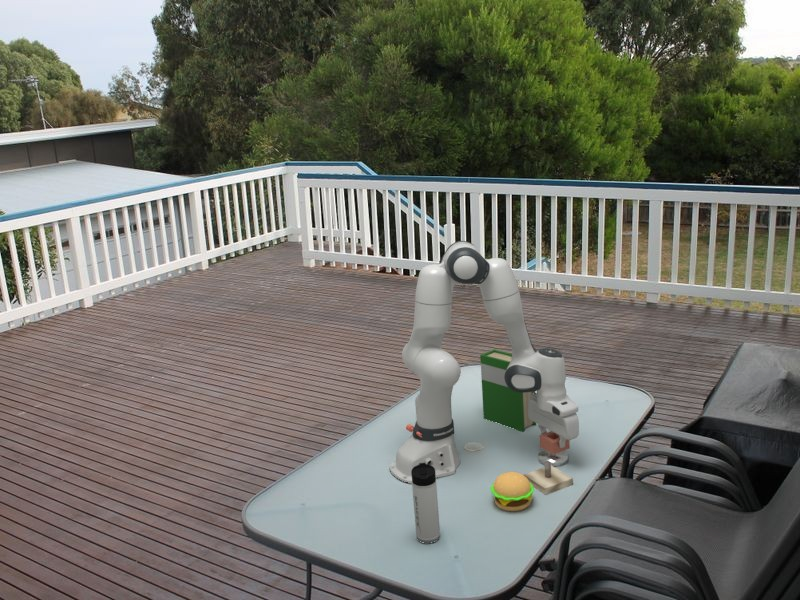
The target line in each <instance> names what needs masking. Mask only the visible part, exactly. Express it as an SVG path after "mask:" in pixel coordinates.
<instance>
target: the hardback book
mask: <svg viewBox="0 0 800 600" xmlns="http://www.w3.org/2000/svg"><path fill="white" fill-rule="evenodd" d="M479 357H480V358H479V359H480V375H481V392H482V393H481V394H482V396H481V397H482V411H483V413H482V414H483V420H486V419H487V421H489V420H490V421H489V422H492V421H493V422H492V423H495V422H497V423H496V424H498V423H500V424H502V425H501V426H503V425H505V426H504V427H506V426H508V427H507V428H509V427H511V428H510V429H512V428H514V429H513V430H515V429H516V431H519V432H521V431H522V433H524V432H525V428H528V427H530V426H534V425H535V426H537V423H535V422H533V421H531V420H530V419H529V417H528V405H529V401H530V395H531V394H532V393H533V392H535V393H536V391H533V392H525V393H518V392H515V391H513V390H511V389H510V388H509V387H508V386H507V384H506V382H505V379H504V376H505V372H506V370H507V368H508V366H509V364H510V362H511V359H512V352H511V353H510V352H507V351H503V350H498V349H492V350H490V351H487V352H484V353H482V354H480V356H479ZM500 424H499V425H500ZM531 424H532V425H531Z"/></svg>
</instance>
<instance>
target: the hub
mask: <svg viewBox="0 0 800 600" xmlns="http://www.w3.org/2000/svg"><path fill="white" fill-rule="evenodd" d="M537 457H538V458H537V459H538V462H539V464H541V465H542V466H545V463H544V462H545V461H550V462H551V465H552V466H553V467H555V468H559V467H563V466H564V465H566V464H568V462H569V455H568V453H567V452H566V451H565V450H564V451H562V452H559V453H556V454H554V455H553V454H551V453H550V452H548V451H546V450H544V449H543V450H541V451H540V452H538V455H537Z"/></svg>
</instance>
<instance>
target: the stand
mask: <svg viewBox="0 0 800 600" xmlns="http://www.w3.org/2000/svg"><path fill="white" fill-rule="evenodd" d="M544 463H545V465H544V467H541V468H538V469H535V470H532V471H530V472H527V473H525V474H523V475H524V476H525V477H526V478H527V479H528V480H529V482H531V484H532V486H533V487H534V489H536V490H538V492H541V493H542V494H544V495H546V496H547V495H549V494H552V493H554V492H556V491H559V490H562V489H565V488H567V487H570V486H573V484H574V480H573V479H574V478H573V477H572V476H569V475H568V474H567V473H564V472H563V471H562V470H560V469H558V467H553V466H552V465H551V462H550V461H545V462H544Z"/></svg>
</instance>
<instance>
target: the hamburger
mask: <svg viewBox="0 0 800 600" xmlns="http://www.w3.org/2000/svg"><path fill="white" fill-rule="evenodd" d="M489 490H490V493H491V494H492V495H494V498H493V500H494V501H493V502H494V503H495V505H496V506H497V507H498V508H499V509H501V510H504V511H507V512H520V511H522V510H525V509H526V508H528V507H529V506H530V504H531V501H533V500H532V499H533V494H534V492H535V488H534V487H533V486H532V484H531V482H529V480H528V479H527V478H526V477H525V476H524V474H522V473H519V472H516V471H507V472H503V473H501V474H499V475H498V476H497V477H496V478H495V480H494V482H492V485H491V486H490V489H489Z"/></svg>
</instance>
